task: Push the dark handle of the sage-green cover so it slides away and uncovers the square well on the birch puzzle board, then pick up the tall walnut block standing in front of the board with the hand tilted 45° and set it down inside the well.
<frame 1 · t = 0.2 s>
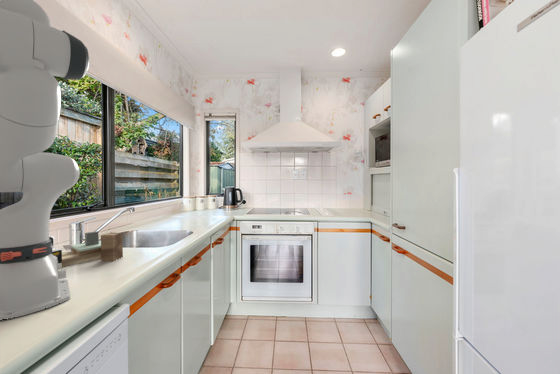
hand: (3, 133, 86), 47 cm above the countertop, tool pointing down, fingers open, 8 cm apart
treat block: (112, 259, 100), on the countertop
medicine bottle: (44, 271, 88), on the countertop, touching puzzle board
cover: (91, 239, 103), point 7 cm above the countertop, slide at 0.0 cm
puzzle board: (81, 258, 100), on the countertop
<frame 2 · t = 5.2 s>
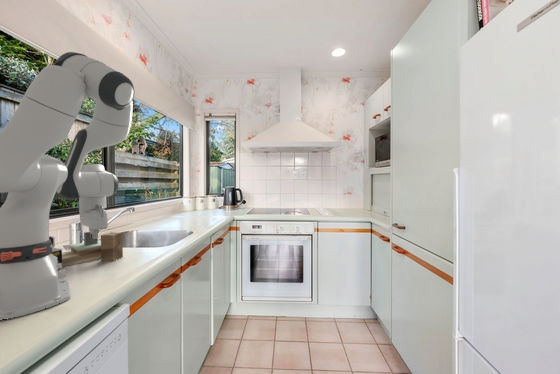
hand: (94, 238, 102), 8 cm above the countertop, tool pointing down, fingers closed
cover: (90, 239, 104), point 7 cm above the countertop, slide at 1.2 cm, touching gripper
everything else where it was.
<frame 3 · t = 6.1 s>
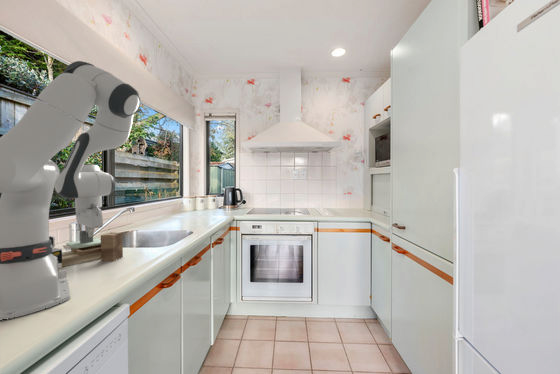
hand: (90, 236, 105), 8 cm above the countertop, tool pointing down, fingers closed
cover: (86, 237, 107), point 7 cm above the countertop, slide at 6.5 cm, touching gripper
everything else where it was.
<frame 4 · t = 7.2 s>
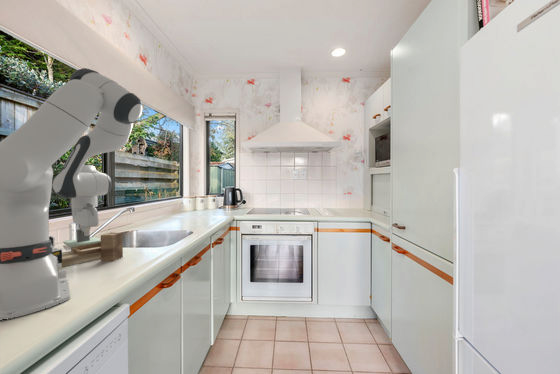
hand: (85, 235, 108), 8 cm above the countertop, tool pointing down, fingers closed
cover: (83, 236, 109), point 7 cm above the countertop, slide at 10.6 cm, touching gripper
everything else where it was.
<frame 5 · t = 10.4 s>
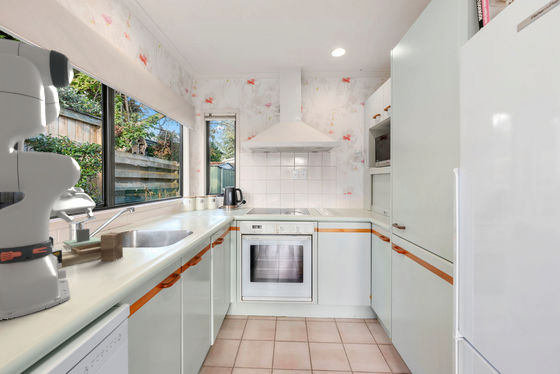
hand: (82, 219, 100), 16 cm above the countertop, tool tilted 45°, fingers open, 8 cm apart
cover: (83, 236, 109), point 7 cm above the countertop, slide at 10.8 cm
everything else where it was.
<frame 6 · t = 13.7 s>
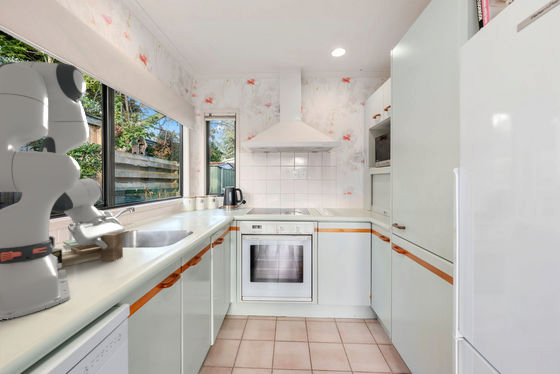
hand: (113, 245, 99), 5 cm above the countertop, tool tilted 45°, fingers closed on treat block, 5 cm apart
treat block: (112, 258, 100), on the countertop, touching gripper
everything else where it was.
when the fingers open (9 cm above the countertop, at t = 18.5 s): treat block drops 1 cm, resting on puzzle board.
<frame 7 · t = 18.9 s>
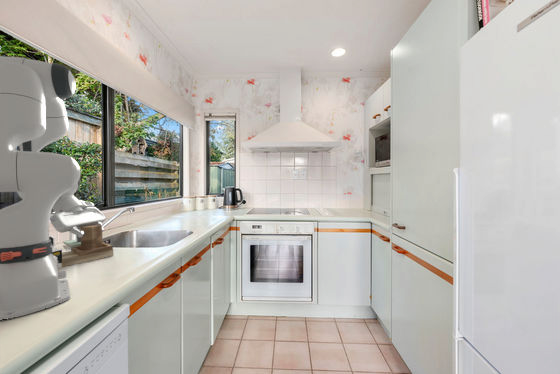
hand: (93, 233, 103), 9 cm above the countertop, tool tilted 45°, fingers open, 8 cm apart
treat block: (92, 250, 103), point 2 cm above the countertop, touching puzzle board
everything else where it was.
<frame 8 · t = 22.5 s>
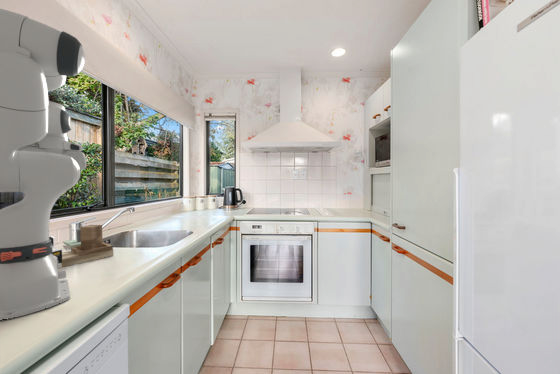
hand: (54, 180, 99), 31 cm above the countertop, tool pointing down, fingers open, 8 cm apart
nothing on the countertop moved.
at the end: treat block inside the target area on the puzzle board (0.0 cm from its centre), point 2.5 cm above the puzzle board's base; cover slide at 10.8 cm; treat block tilted 0° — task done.
